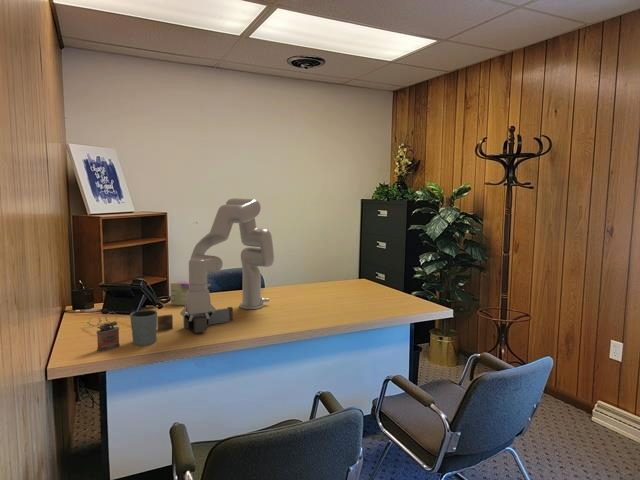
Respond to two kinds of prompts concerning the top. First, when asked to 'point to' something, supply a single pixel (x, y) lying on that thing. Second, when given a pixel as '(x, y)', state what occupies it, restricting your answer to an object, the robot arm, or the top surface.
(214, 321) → the blue-grey long block
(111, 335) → the lighter
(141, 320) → the grey-green cup
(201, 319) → the dark boxy piece
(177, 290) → the box
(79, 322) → the top surface
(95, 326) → the eyeglasses
